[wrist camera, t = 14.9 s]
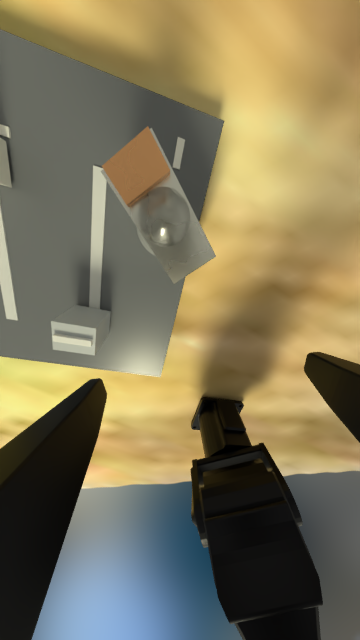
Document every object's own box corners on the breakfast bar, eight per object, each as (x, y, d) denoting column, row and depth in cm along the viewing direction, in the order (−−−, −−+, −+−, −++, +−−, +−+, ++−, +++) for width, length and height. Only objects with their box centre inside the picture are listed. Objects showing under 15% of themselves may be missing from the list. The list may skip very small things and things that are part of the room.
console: (160, 365, 21) (160, 378, 19) (-2, 342, 18) (-23, 354, 16) (215, 138, 13) (225, 119, 11) (-70, 28, 10) (-131, -28, 8)
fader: (108, 333, 16) (93, 357, 13) (75, 328, 16) (50, 351, 12) (110, 311, 15) (94, 330, 12) (75, 304, 15) (48, 322, 11)
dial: (199, 252, 14) (218, 256, 9) (171, 271, 14) (174, 285, 9) (157, 173, 12) (150, 119, 7) (125, 199, 12) (96, 166, 7)
